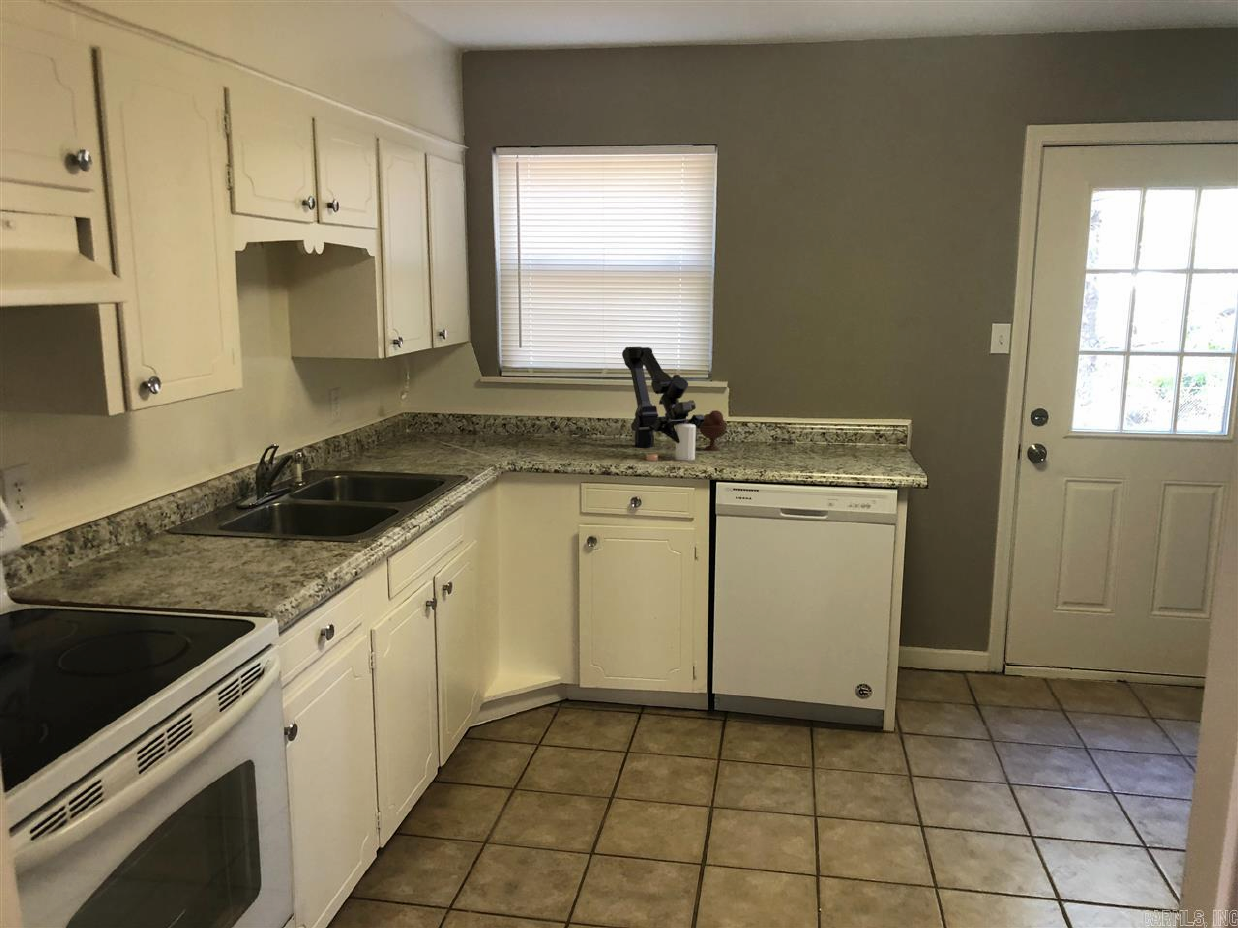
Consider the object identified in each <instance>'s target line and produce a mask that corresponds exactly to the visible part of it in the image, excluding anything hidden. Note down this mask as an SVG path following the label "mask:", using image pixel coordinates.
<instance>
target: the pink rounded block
mask: <svg viewBox="0 0 1238 928" xmlns="http://www.w3.org/2000/svg"><path fill="white" fill-rule="evenodd" d="M646 461H647V462H658V461H659V453H658V454H657V453H647V454H646Z"/></svg>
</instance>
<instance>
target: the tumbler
mask: <svg viewBox="0 0 1238 928" xmlns="http://www.w3.org/2000/svg"><path fill="white" fill-rule="evenodd" d="M675 427H676V428H675V431H676V433H677V435H678V438H679V441H680V442H679V443H677V442H675V455H674V456H675V459H677V460H692V461H695V460H694V459H695V457H696V442H695V436H696V426H695V425H694V424H677V425H676V426H675ZM677 460H676V461H677Z"/></svg>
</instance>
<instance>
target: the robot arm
mask: <svg viewBox="0 0 1238 928" xmlns="http://www.w3.org/2000/svg"><path fill="white" fill-rule="evenodd" d="M621 356H622V359H623V362H624V365H625V366H626V367H627V368H628V370H629V371H630V374H631V379H632V384H633V389H634V393H635V400H636V404H637V407H636V410H635V412H634V419H633V420H632V423H631V425H630V427H631V431H634V444H632V447H635V446H636V447H637V448H643V449H644V448H645V449H648V448H652V447H655V446H656V444H655V434H654V432H655V433H661V434H664V435H666V436H667V437H668V438H670V439H671V440H673V442H675V443H676V442H677V443H679V442H680V441H679V438H678V435H677V433H676V428H675V427H676V425H677V424H694V425H695V426H696V436H695V443H697V441H698V430H700V429H699V428H701V426H702V425H703V423H704V421H705V420H706V419H705V417H704V415H705V414H701V413H699V414H692V416H691V418H687V417H689V413H691V412H692V411H694V410H695V409H696V405H697V404H696V403H695V401H694V399H693V400H691V399H690V400H688V401H681V402H680V401H679V400H680V399H681V398H682V397H683V395H684V394H685V392H686V391H687V389H688V387H689V382H688V380H686V379H685V378H683V377H681V376H680V374H674V375H673V377H671V376H670V375H669V374H668V373H667V372H664V371H663V369H662V368H661V365H660V364H659V362H658V360H657V358H656V357H655V355H654V353H653V348H652V347H649V346H645V347H644V346H626V347H625V348H624V349H623V350H622V353H621ZM644 368H645V370H646V371H647V372H648V374H649V375H648V376H649V377H650V378H651V383H650V386H651V389H652V390H653V392H654V394H656V395H661V397H660V400H659V401H658V404H659V405H661V406H663V408H664V410H665V413H664V415H662V416H659V414H658V407H657V405H653V404H652V403H651V400H650V396H649V390H648V386H647V385H648V384H647V379H646V375H645V371H644Z"/></svg>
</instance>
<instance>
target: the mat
mask: <svg viewBox="0 0 1238 928" xmlns="http://www.w3.org/2000/svg"><path fill="white" fill-rule="evenodd" d="M675 456H676V455H673V456H669V457H666V458H664V460H670V461H679V462H686V463H689V462H692V461H695V460H698V459H700V457H696V456H695V459H694V460H677V459H675Z"/></svg>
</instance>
